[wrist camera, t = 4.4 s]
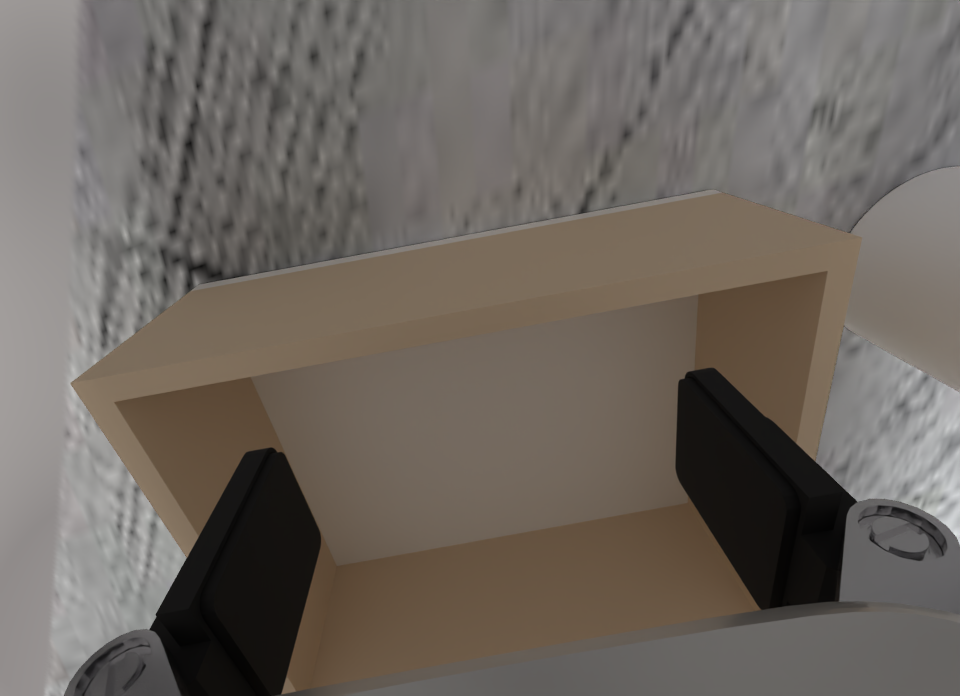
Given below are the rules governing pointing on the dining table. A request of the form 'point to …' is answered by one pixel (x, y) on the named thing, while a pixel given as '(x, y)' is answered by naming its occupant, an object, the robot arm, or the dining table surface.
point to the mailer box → (487, 419)
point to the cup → (912, 275)
